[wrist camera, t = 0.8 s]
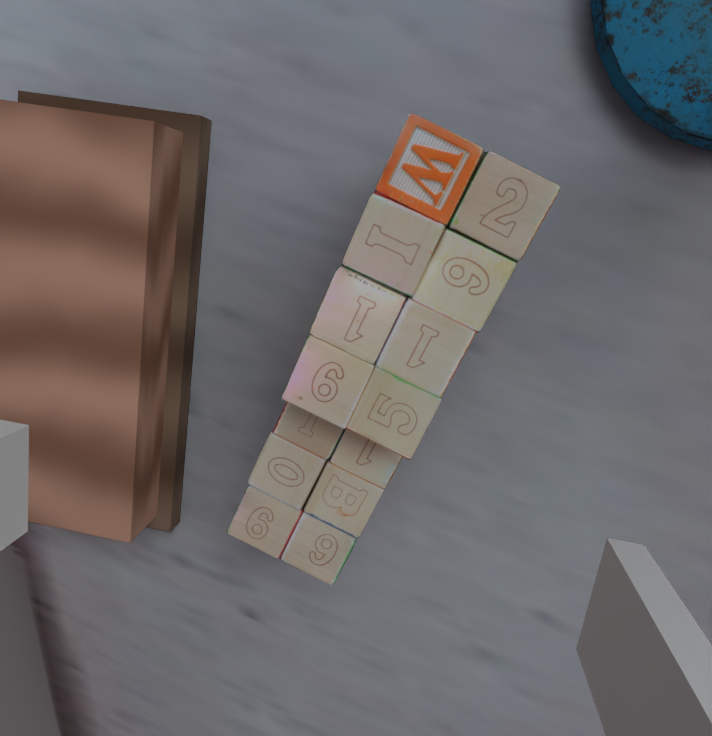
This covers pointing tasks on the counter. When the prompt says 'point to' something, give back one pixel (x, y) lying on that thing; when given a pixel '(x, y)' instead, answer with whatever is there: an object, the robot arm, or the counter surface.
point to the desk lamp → (660, 62)
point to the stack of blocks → (388, 341)
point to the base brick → (100, 305)
